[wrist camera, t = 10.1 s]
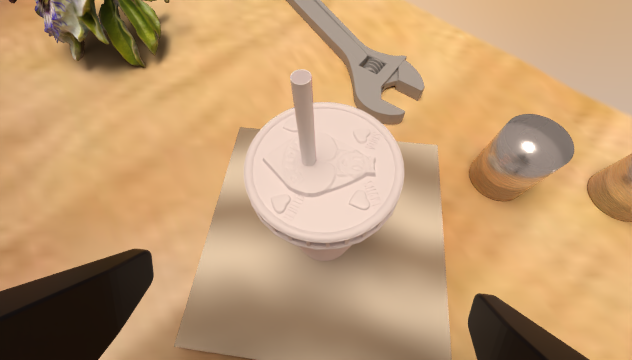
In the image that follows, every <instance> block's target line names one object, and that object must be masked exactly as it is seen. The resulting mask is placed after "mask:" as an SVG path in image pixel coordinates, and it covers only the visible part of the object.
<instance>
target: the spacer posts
mask: <svg viewBox="0 0 632 360" xmlns="http://www.w3.org/2000/svg"><path fill="white" fill-rule="evenodd" d="M573 154H574V144H573V141H572V139H571V137H570V135H569V134H568V133H567V131H566V130H565V129H564V128H563V127H562V126H560V125H559V124H558V123H556V122H555V121H553V120H551V119H549V118H546V117H543V116H540V115H535V114H523V115H519V116H516V117H514V118H512V119H511V120H510V121H509V122H508V123H507V124H506V125H505V126H504V127H503V128H502V130H501V131H500V132H499V133H498V134H497V135H496V136H495V137H494V139H493V140H492V141H491V142H490V143H489V144H488V145H487V146H486V148H485V149H484V150H483V151H482V152H481V153H480V154H479V155H478V157H477V158H476V159H475V160H474V161H473V162H472V164H471V166H470V169H469V175H470V179H471V182H472V183H473V185H474V186H475V188H476V189H477V190H478V191H479V192H480V193H482V194H483V195H485V196H486V197H488V198H491V199H493V200H497V201H509V200H513V199H515V198H517V197H518V196H520V195H521V194H523V193H524V192H525V191H527V190H528V189H530V188H531V187H533V186H534V185H536V184H537V183H539V182H540V181H542V180H543V179H545V178H546V177H548V176H549V175H550V174H552V173H553V172H555V171H556V170H558V169H559V168H561V167H562V166H564V165H565V164H567V163H568V162H569V161H570V160H571V159H572V157H573ZM588 193H589V195H590V197H591V199H592V201H593V202H594V204H595V205H596V206H597V207H598V208H599V209H600V210H602V211H603V212H604V213H606V214H607V215H609V216H611V217H613V218H615V219H618V220H621V221H627V222H632V154H630V155H628V156H626V157H624V158H623V159H621V160H619V161H617V162H616V163H614V164H612V165H610V166H609V167H607V168H605V169H603V170H602V171H600V172H598V173H596V174H595V175H593V176H592V177H591V178H590V179H589V181H588Z"/></svg>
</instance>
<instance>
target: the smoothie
mask: <svg viewBox="0 0 632 360" xmlns="http://www.w3.org/2000/svg"><path fill="white" fill-rule="evenodd" d="M290 79H291V87H292V94H293V101H294V108H291V109H288V110H286V111H284V112H282V113H280V114H279V115H277V116H276V117H274V118H273V119H271V120H270V121H269V122H268V123H267V124H265V125H264V126H263V127H262V128H261V129H260V131H259V132H258V133H257V134H256V136H255V137H254V139H253V140H252V142H251V144H250V146H249V149H248V151H247V154H246V158H245V162H244V183H245V188H246V191H247V194H248V197H249V199H250V201H251V205H252V207H253V208H254V210H255V212H256V214H257V215H258V217H259V219H260V221H261V222H262V223H263V224H264V225H265V226H267V227H268V228H269V229H270V230H271V231H272V232H273V233H274V234H275V235H276V236H278V237H280V238H282V239H284V240H286V241H288V242H290V243H292V244H293V245H296V246H298V247H299V248H300V249H301V250H302V251H303V252H304V253H305V254H306V255H308V256H309V257H311V258H313V259H315V260H318V261H330V260H334V259H336V258H338V257H340V256H341V255H342V254H343V253H344V252H345V251H346V250H347V249H348V248H349V247H350V246H351V245H353V244H356V243H360V242H362V241H363V240H365V239H366V238H368V237H369V236H371V235H372V234H374V233H375V232H377V231H378V230H379V229H380V228H381V227H382V226H383V225H384V223H385V222H386V221H387V220H388V219H389V218H390V216H391V215H392V213H393V211H394V209H395V206H396V204H397V202H398V199H399V197H400V193H401V190H402V186H403V182H404V162H403V158H402V154H401V151H400V148H399V146H398V144H397V142H396V140H395V139H394V137H393V136H392V134H391V133H390V132H389V130H388V129H387V128H386V127H385V126H384V125H383V124H382V123H381V122H380V121H378V120H377V119H376V118H374V117H373V116H371V115H370V114H368V113H366V112H364V111H362V110H360V109H358V108H355V107H352V106H349V105H345V104H340V103H332V102H317V103H313V94H312V76H311V73H310V72H309V71H307V70H304V69H299V70H296V71H294V72H293V73H292V74H291V76H290Z"/></svg>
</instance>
